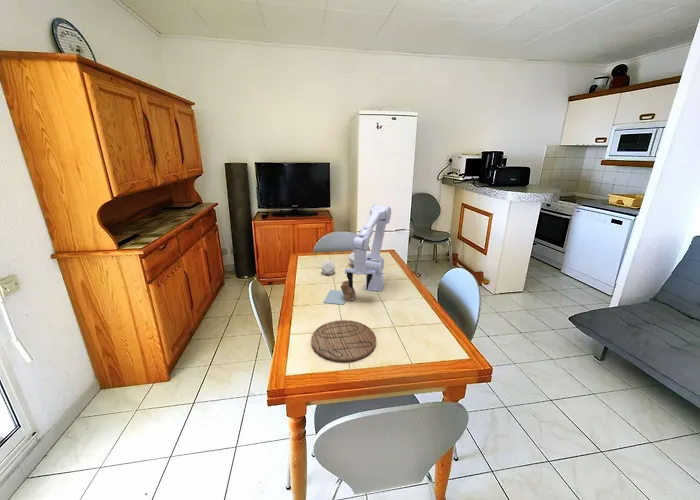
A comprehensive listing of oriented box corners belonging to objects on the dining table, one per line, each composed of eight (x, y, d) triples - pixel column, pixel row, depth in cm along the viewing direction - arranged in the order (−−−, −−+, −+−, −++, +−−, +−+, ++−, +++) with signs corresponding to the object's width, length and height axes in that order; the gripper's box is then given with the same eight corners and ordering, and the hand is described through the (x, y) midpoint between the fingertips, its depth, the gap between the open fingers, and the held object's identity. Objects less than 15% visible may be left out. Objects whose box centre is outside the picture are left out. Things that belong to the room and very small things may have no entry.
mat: (348, 292, 157) (348, 291, 157) (343, 304, 144) (343, 304, 144) (330, 290, 159) (330, 289, 159) (323, 303, 146) (323, 302, 146)
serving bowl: (360, 258, 207) (360, 248, 205) (387, 264, 195) (387, 254, 193) (342, 266, 191) (342, 256, 189) (370, 274, 179) (370, 264, 177)
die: (329, 278, 175) (338, 264, 175) (317, 270, 175) (325, 256, 175) (330, 277, 183) (338, 264, 184) (318, 270, 183) (326, 257, 184)
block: (355, 293, 152) (350, 279, 150) (353, 299, 147) (348, 284, 145) (348, 295, 153) (342, 281, 152) (346, 301, 148) (340, 286, 146)
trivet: (386, 356, 109) (386, 351, 109) (318, 369, 103) (317, 364, 102) (363, 320, 132) (363, 316, 131) (306, 329, 125) (306, 325, 125)
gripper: (343, 263, 141) (343, 289, 145) (374, 265, 138) (373, 292, 143) (346, 258, 147) (346, 283, 152) (375, 260, 145) (374, 286, 149)
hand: (359, 287), depth 148 cm, fingers open, 7 cm apart
